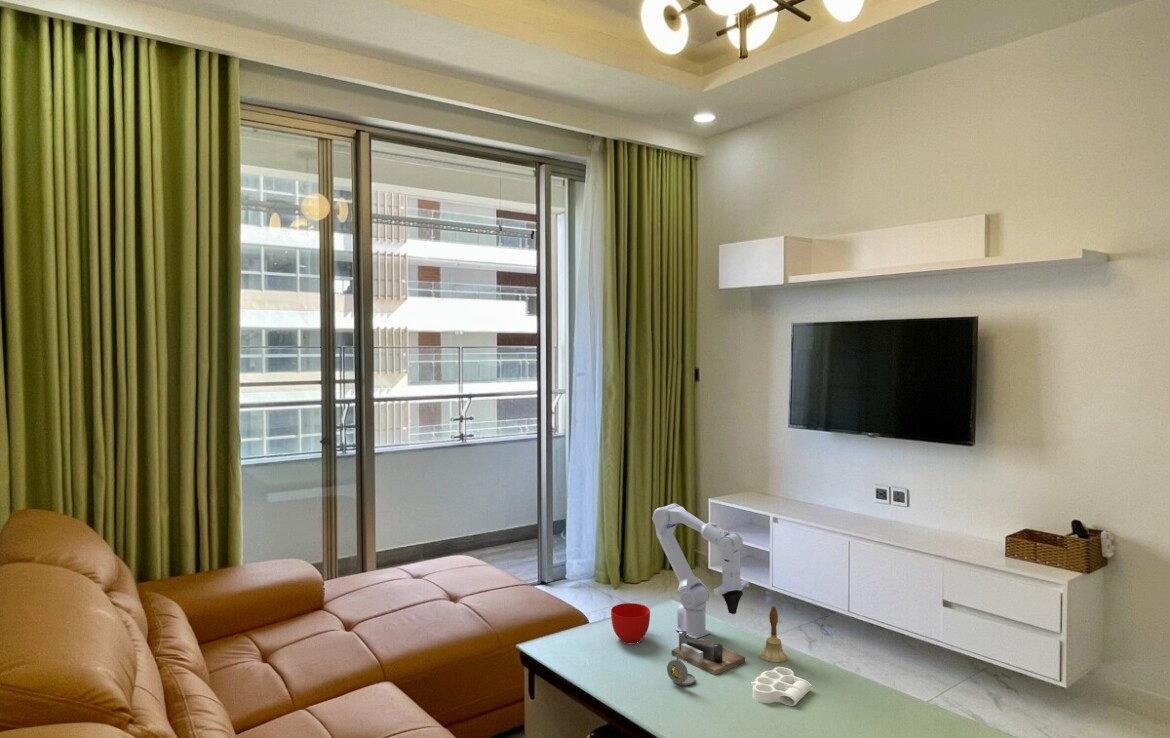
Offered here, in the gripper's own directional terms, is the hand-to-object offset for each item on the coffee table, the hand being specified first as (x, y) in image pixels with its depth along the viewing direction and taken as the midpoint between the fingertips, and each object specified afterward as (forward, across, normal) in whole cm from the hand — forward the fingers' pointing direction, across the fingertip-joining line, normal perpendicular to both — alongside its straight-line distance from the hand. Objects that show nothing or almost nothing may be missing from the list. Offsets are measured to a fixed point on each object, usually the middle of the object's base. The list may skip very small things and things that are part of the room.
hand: (732, 613), depth 231 cm
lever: (+9, -17, -2) cm, 19 cm away
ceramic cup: (+10, -22, +24) cm, 34 cm away
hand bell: (+11, +4, -14) cm, 18 cm away
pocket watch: (+11, -32, -8) cm, 34 cm away
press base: (+10, -14, -2) cm, 17 cm away
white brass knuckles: (+12, -13, -29) cm, 34 cm away
